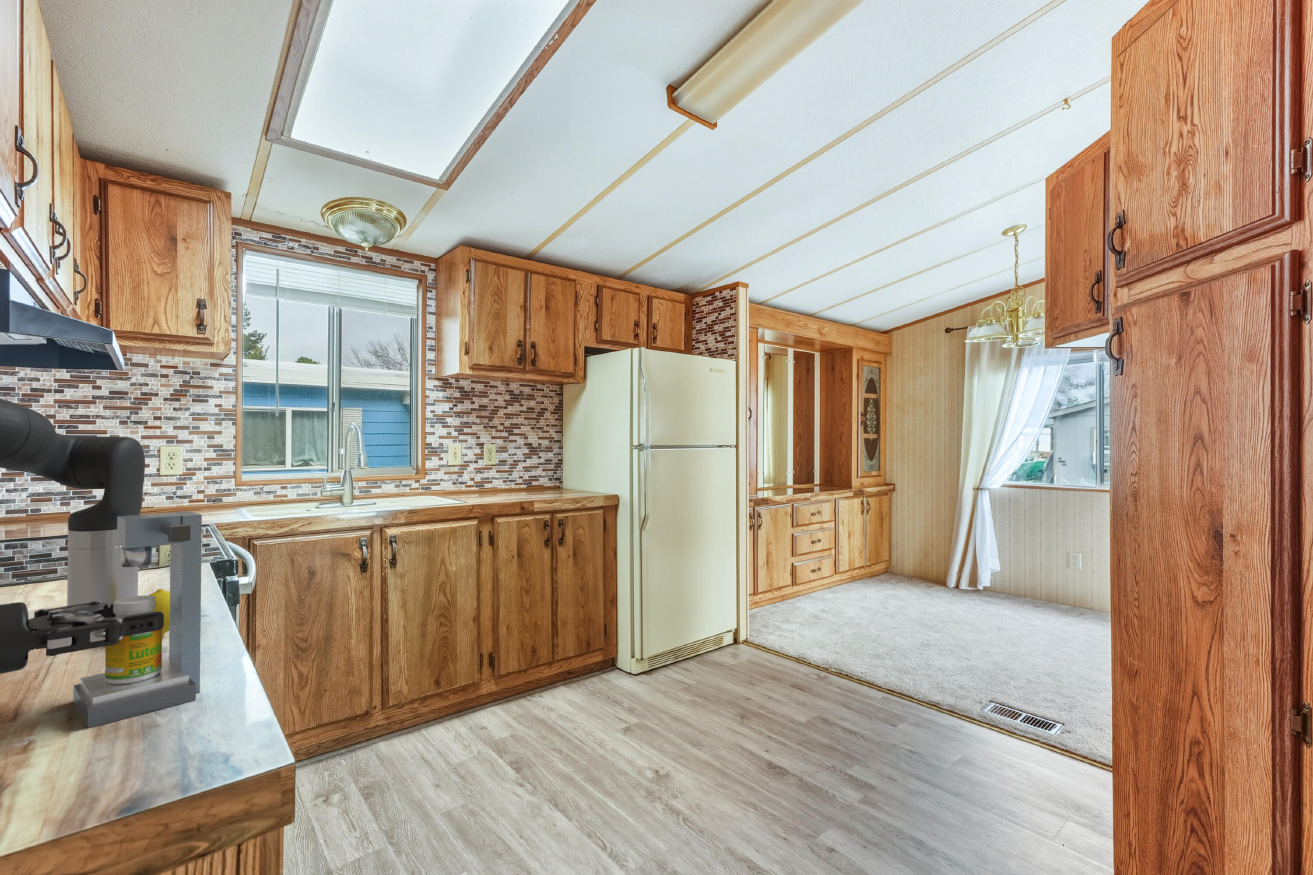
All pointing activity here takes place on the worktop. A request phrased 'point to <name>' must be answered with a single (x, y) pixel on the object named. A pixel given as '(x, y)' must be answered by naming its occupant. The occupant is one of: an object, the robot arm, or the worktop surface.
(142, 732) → the worktop surface
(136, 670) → the supplement bottle
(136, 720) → the worktop surface
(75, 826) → the worktop surface
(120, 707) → the arbor press
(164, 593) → the lemon
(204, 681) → the worktop surface
